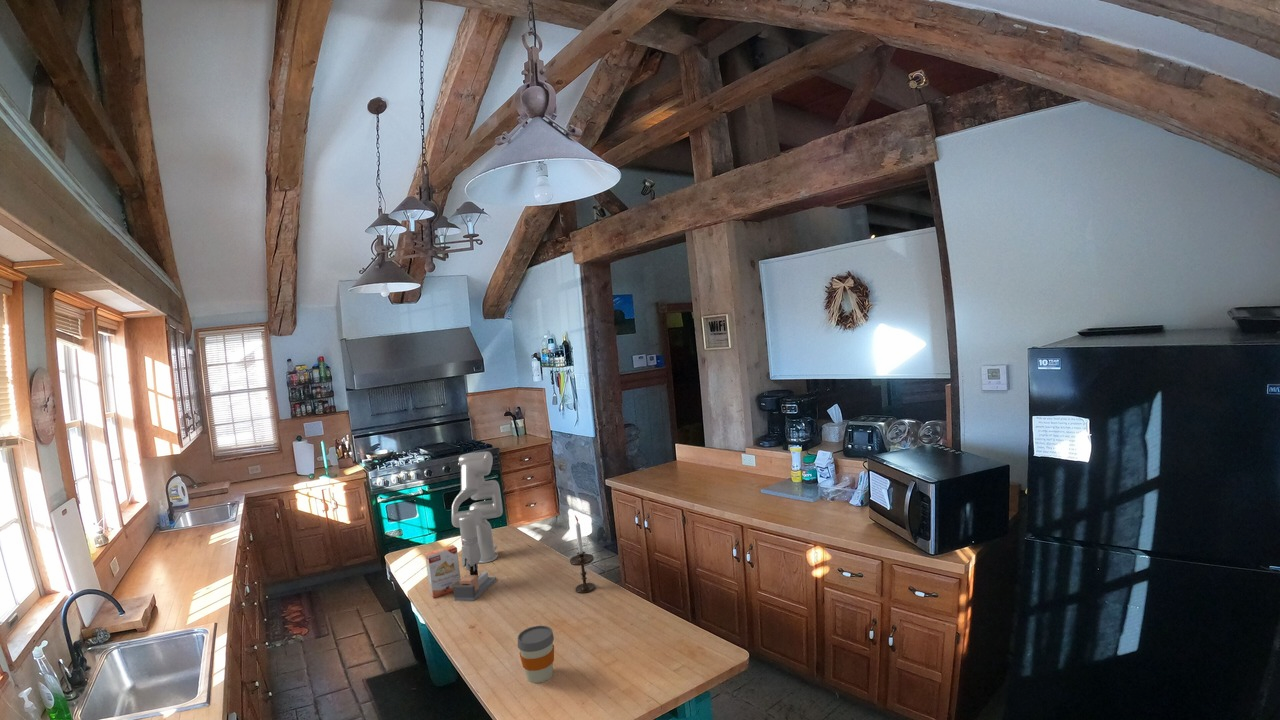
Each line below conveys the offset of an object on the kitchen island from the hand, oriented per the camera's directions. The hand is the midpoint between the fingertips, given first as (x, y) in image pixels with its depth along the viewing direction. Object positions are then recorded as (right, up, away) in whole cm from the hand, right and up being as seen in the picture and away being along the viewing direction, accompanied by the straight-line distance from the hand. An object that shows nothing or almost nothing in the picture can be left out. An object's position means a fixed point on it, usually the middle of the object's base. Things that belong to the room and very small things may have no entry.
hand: (474, 578), depth 292 cm
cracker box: (-14, -8, +2) cm, 16 cm away
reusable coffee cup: (+44, -7, -78) cm, 90 cm away
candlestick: (+54, -1, -11) cm, 55 cm away
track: (+1, -6, +1) cm, 6 cm away
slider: (-1, -5, -5) cm, 7 cm away
